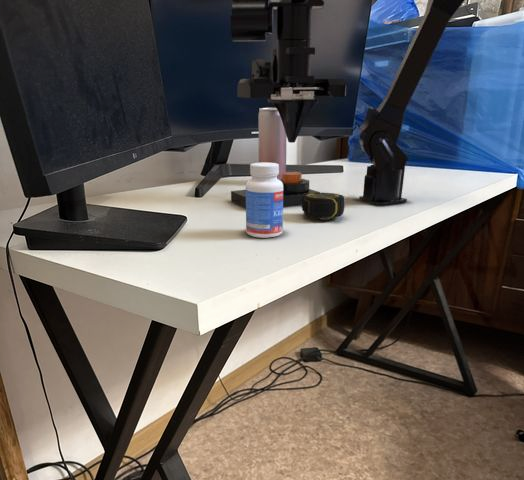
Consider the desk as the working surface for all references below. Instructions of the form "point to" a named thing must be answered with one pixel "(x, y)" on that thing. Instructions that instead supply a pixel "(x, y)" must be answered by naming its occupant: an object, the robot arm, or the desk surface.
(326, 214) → the tape measure
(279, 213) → the pill bottle
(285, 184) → the scale
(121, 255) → the desk surface
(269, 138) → the beverage can
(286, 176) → the button
